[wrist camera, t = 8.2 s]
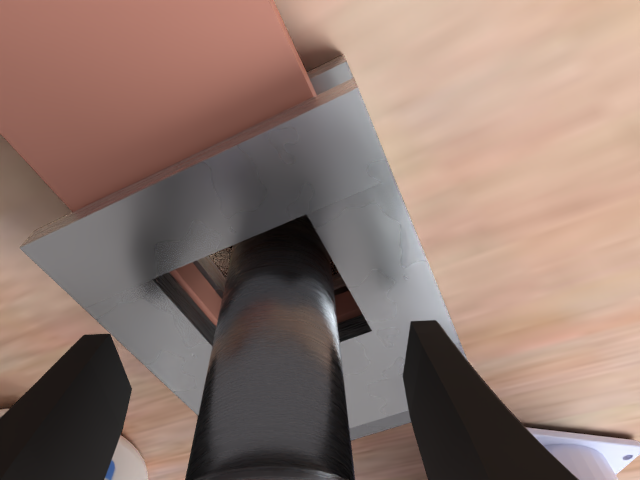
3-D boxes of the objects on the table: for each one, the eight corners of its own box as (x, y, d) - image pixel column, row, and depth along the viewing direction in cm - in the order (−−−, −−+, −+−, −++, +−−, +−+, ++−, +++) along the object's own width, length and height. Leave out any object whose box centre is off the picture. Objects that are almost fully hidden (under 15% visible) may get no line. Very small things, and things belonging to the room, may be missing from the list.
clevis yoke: (463, 351, 19) (491, 419, 16) (273, 413, 20) (270, 484, 18) (343, 54, 12) (358, 87, 9) (73, 187, 13) (19, 247, 11)
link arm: (403, 277, 16) (416, 318, 14) (236, 339, 17) (230, 383, 16) (47, -507, 7) (-38, -659, 5) (-247, -242, 8) (-391, -290, 6)
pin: (318, 284, 16) (341, 617, 8) (214, 262, 15) (129, 607, 7) (355, 197, 14) (431, 526, 6) (237, 166, 13) (154, 497, 5)
